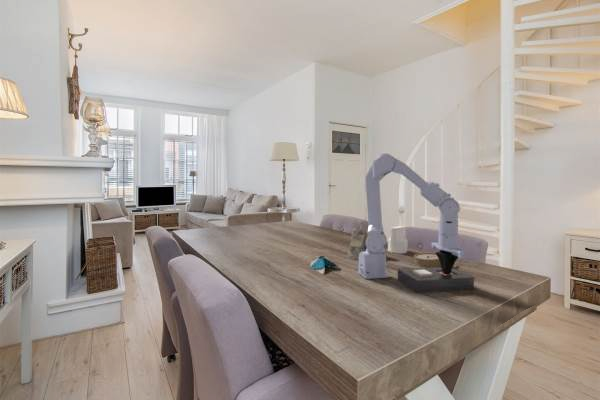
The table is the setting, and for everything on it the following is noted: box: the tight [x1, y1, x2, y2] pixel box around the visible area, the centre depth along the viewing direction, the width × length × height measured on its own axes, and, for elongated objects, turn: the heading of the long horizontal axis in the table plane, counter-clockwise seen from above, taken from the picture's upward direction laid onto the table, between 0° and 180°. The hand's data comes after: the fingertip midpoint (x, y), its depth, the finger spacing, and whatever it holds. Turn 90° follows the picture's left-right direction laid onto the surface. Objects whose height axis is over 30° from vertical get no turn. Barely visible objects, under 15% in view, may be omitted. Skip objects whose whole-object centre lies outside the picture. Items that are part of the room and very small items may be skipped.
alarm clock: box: [411, 252, 441, 268], centre depth 126 cm, size 11×5×15 cm
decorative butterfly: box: [309, 255, 342, 275], centre depth 119 cm, size 10×6×10 cm
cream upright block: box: [387, 225, 409, 254], centre depth 148 cm, size 9×9×12 cm
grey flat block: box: [397, 266, 475, 294], centre depth 101 cm, size 20×12×4 cm, turn 101°
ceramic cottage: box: [346, 223, 388, 261], centre depth 137 cm, size 16×16×15 cm
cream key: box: [413, 269, 433, 277], centre depth 100 cm, size 4×4×3 cm
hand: (446, 273), depth 102 cm, fingers closed, pressing on red key
